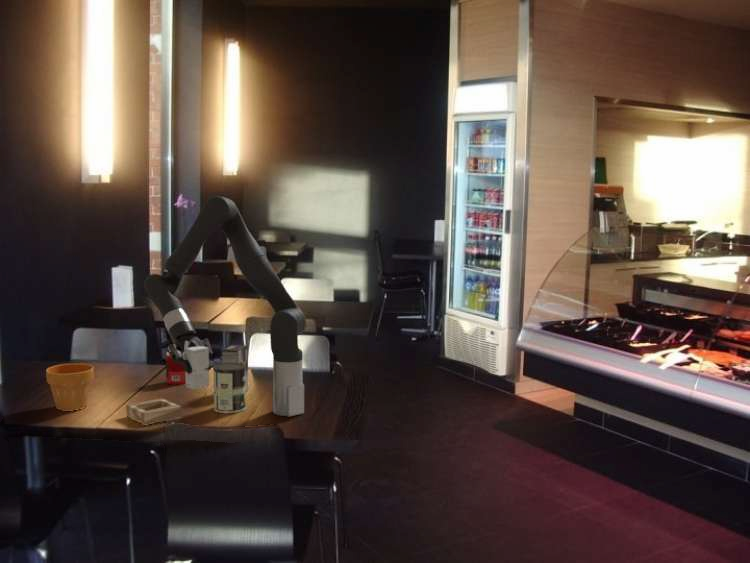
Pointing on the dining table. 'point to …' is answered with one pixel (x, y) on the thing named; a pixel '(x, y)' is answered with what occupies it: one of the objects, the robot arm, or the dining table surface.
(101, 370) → the dining table surface
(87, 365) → the flower pot
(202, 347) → the skincare box
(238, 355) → the coffee box
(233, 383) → the coffee can
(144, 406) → the frame
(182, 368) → the canned food
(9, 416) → the dining table surface
